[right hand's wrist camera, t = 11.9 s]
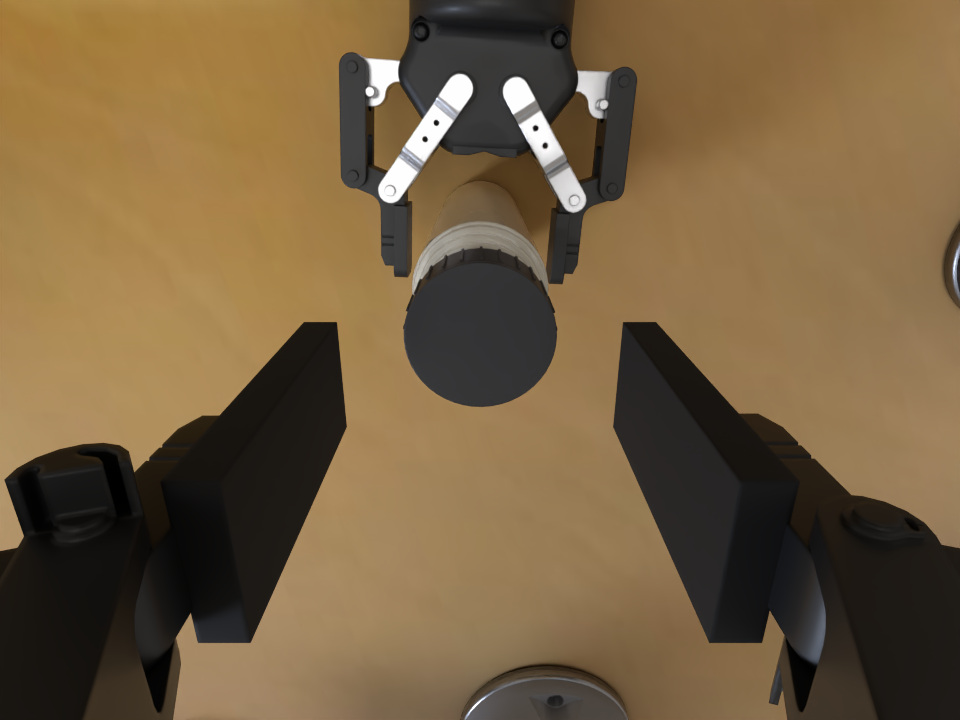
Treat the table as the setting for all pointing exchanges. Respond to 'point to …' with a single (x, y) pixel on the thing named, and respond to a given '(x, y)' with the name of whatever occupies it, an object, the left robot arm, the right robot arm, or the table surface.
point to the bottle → (480, 229)
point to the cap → (480, 328)
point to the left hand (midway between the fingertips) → (478, 277)
